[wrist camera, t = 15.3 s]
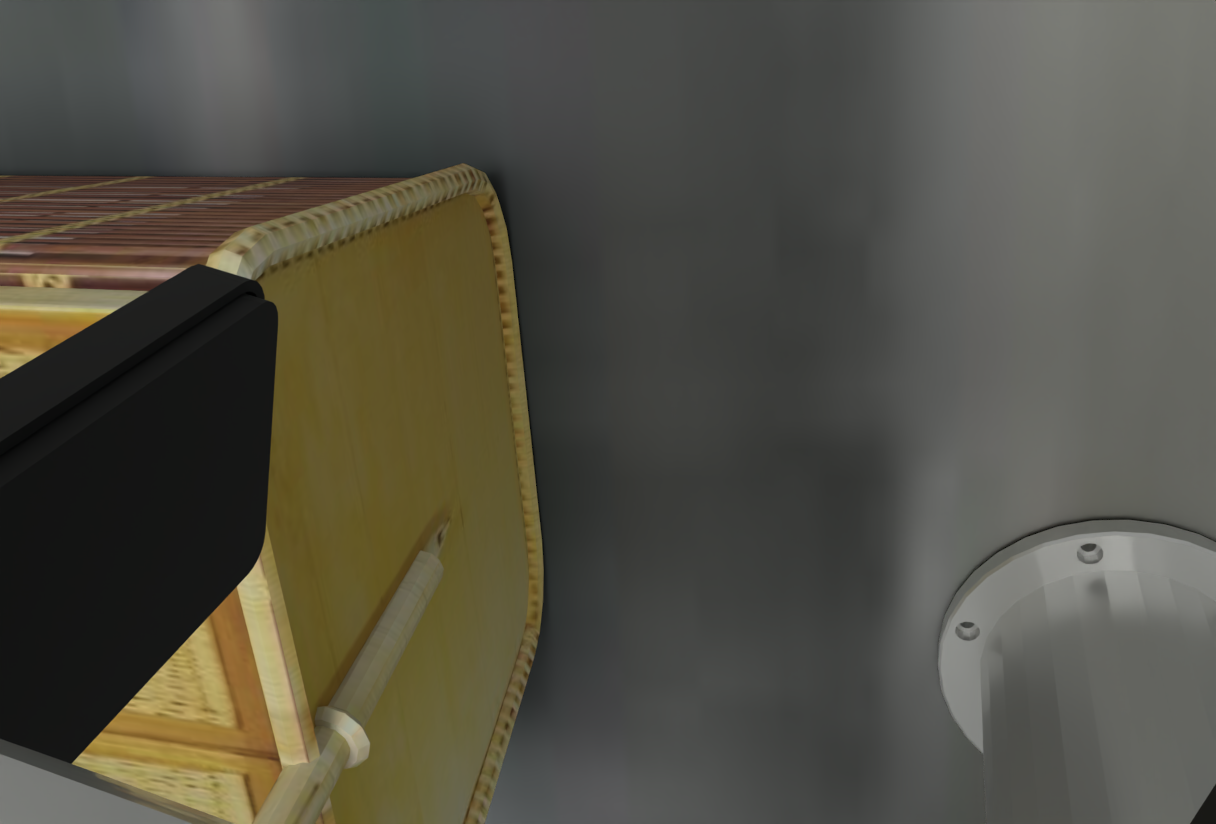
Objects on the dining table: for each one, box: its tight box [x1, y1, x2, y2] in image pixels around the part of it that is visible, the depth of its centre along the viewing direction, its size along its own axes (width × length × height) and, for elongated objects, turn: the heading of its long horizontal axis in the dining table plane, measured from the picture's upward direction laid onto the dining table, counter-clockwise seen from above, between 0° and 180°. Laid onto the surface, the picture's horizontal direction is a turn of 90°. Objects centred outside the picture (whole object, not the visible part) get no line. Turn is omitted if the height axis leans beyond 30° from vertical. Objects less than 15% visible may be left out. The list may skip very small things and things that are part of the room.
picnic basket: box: [0, 163, 544, 824], centre depth 36 cm, size 29×26×30 cm
